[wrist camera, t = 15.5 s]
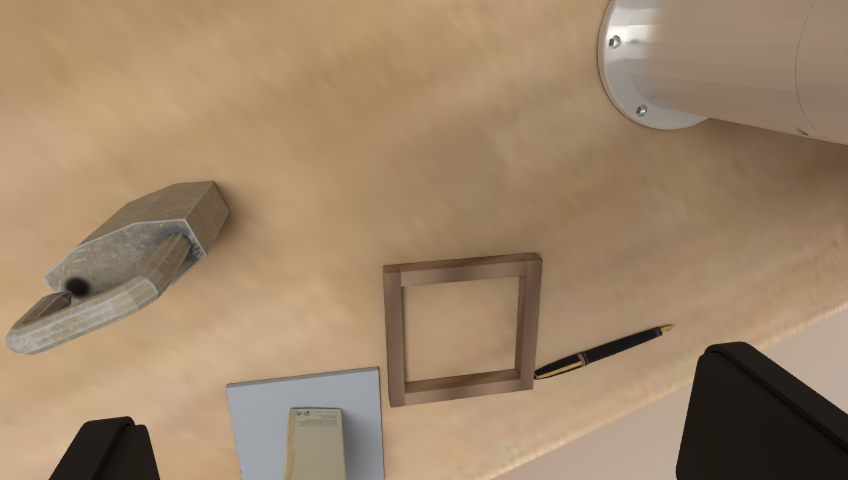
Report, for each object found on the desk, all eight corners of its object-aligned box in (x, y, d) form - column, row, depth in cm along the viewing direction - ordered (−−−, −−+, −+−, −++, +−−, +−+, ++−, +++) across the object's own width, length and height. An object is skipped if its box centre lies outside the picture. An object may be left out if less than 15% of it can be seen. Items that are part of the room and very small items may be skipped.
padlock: (94, 216, 36) (-50, 329, 22) (207, 170, 36) (136, 252, 22) (127, 265, 37) (13, 399, 23) (235, 220, 37) (185, 327, 24)
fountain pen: (672, 316, 48) (682, 324, 47) (673, 326, 48) (683, 335, 47) (524, 369, 47) (531, 379, 46) (527, 379, 47) (533, 389, 46)
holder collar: (535, 252, 43) (542, 259, 41) (526, 378, 47) (533, 389, 46) (382, 265, 41) (384, 273, 39) (388, 396, 45) (390, 407, 44)
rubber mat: (377, 366, 44) (378, 370, 43) (383, 478, 48) (384, 482, 48) (226, 384, 42) (225, 388, 41) (247, 498, 46) (246, 503, 46)
